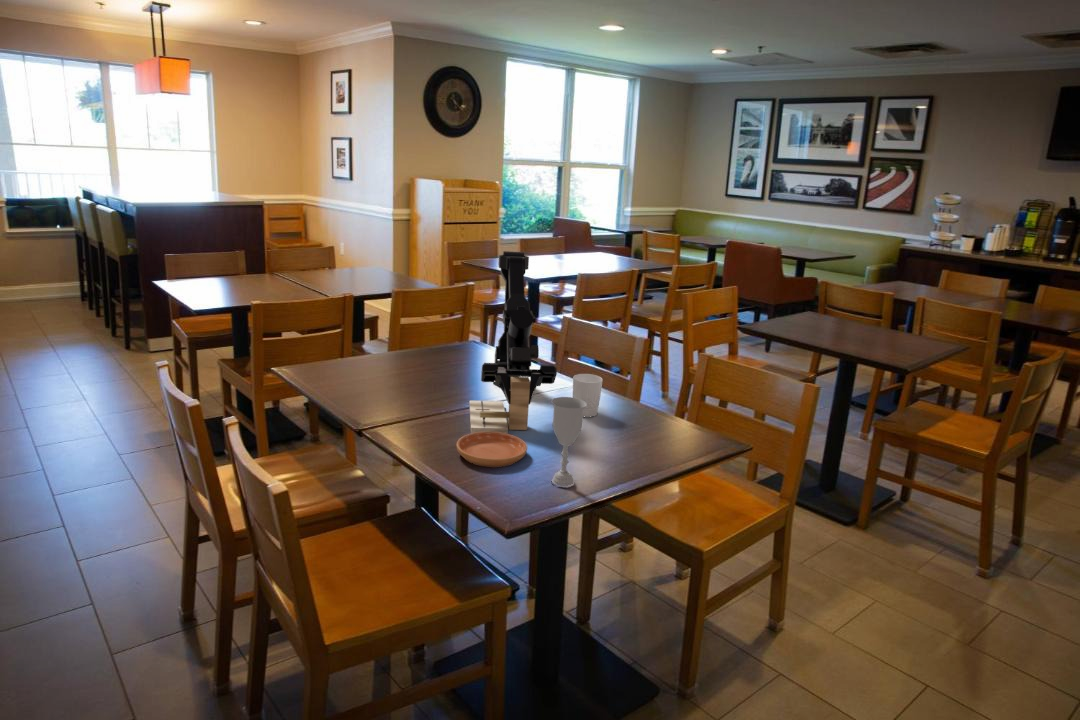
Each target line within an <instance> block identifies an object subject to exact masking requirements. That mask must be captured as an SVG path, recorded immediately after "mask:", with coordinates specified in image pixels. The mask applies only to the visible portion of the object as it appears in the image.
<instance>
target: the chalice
mask: <svg viewBox="0 0 1080 720" xmlns="http://www.w3.org/2000/svg"><path fill="white" fill-rule="evenodd" d="M551 403H552V406H553V415H552V417H553V418H552V427H553V430H554V434H555V436H556V438H557V441H558V443H559V445H562V447H563V448H562V452H561V453H560V454H561V455H562V458H561V460H559V462H560V463H561V468H560V469H559V470H557V471H556V472H555V473H554V475H553V477H552V479H551V481H552V482H553V483H554V484H556V485H560V486H568V485H571V484H573V481H574V478H573V475H572V473H571V472H570V471H569V470H567V465H568V464H569V463H570V462H569V461H568V456H569V455H570V453H569V446H572V445H573V444H574V443H575V441H576V440H577V438H578V436H579V435H580V432H581V430H582V428H583V423H584V422H583V420H584V417H583V411H584V408H585V407H586V405H587V404H586V402H585V401H583V400H580V399H577V398H573V396H572V397H571V396H559V397H558V396H557V397H555V398H553V399H551Z"/></svg>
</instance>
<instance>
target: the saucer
mask: <svg viewBox="0 0 1080 720" xmlns="http://www.w3.org/2000/svg"><path fill="white" fill-rule="evenodd" d="M456 451H457V452H458V454H460V456H461V457H462V458H464V460H466V461H467V462H469V463H471V464H472V463H473V464H472V465H476V466H480V467H484V468H485V467H486V468H503V467H507V465H508V466H511V465H513V463H514V464H516V463H517V462H519V461H520V460H522V458H524V457H525V455H527V451H528V445H527V443H526V442H525V441H524V440H523V439H522V438H520V437H518V436H515V435H512V434H509V433H508V434H506V433H500V432H476V433H471V432H470V433H469V434H465V435H463V436H462V437H459V438H458V440H457V441H456ZM515 462H516V463H515ZM502 466H503V467H502Z"/></svg>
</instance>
